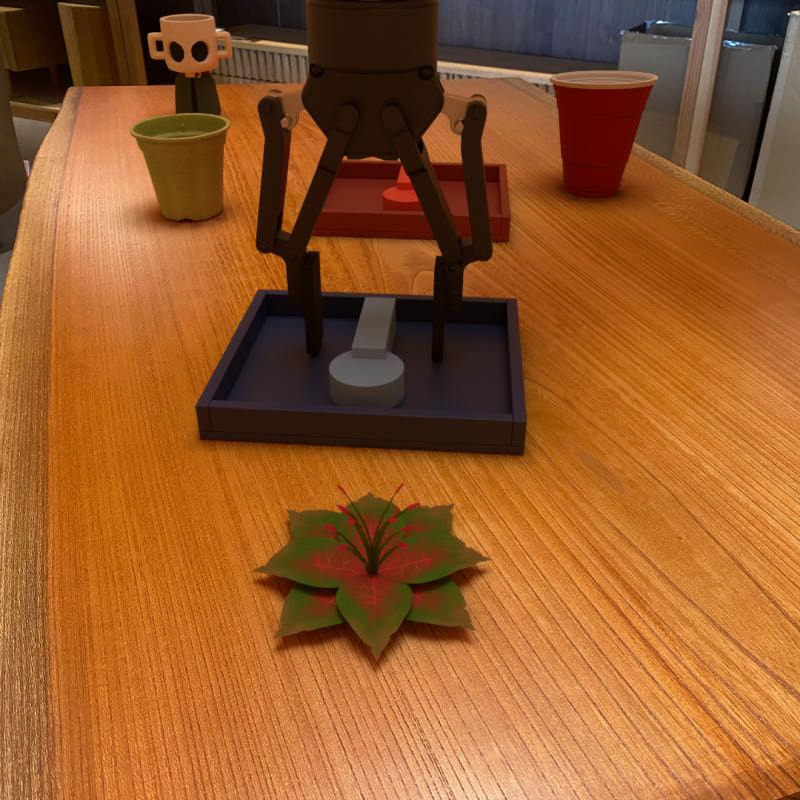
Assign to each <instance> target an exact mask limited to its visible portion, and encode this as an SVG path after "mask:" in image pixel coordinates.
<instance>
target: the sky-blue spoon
mask: <svg viewBox="0 0 800 800" xmlns="http://www.w3.org/2000/svg"><path fill="white" fill-rule="evenodd" d="M395 334H396V299H395V298H376V297H365V301H364V304H363V308H362V311H361V315H360V319H359V322H358V326H357V329H356V333H355V337H354V340H353V344H352V347H351V351H349V352H346V353H343V354H341V355H339V356H337V357H336V358H335V359H333V360H332V362H331V363H330V366H329V380H330V396H331V399H332V401H333V402H334V403H335V404H336V405H337V406H354V407H375V408H392V407H394V406H396V405H397V404H398V403H399V402H400V401H401V400H402V398H403V396H404V364H403V362H402V360H401V359H400V358H399V357H397V356H396V355H394V354H392V349H393V344H394V339H395Z"/></svg>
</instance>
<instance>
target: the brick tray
mask: <svg viewBox="0 0 800 800" xmlns="http://www.w3.org/2000/svg"><path fill="white" fill-rule="evenodd" d="M430 162H431V164H432V166H433V169H434V171H435V174H436V176H437V179H438V181H439V184H440V186H441V189H442V191H443V193H444V196H445V198H446V201H447V203H448V206H449V208H450V211H451V213H452V216H453V218H454V220H455V223H456V225H457V228H458V230H459V233H460V235H461V238H462V239H465V238H468V237H471V236H472V235H471V227H470V220H469V212H468V204H467V196H466V188H465V181H464V173H463V165H462V162H445V161H444V162H443V161H442V162H440V161H430ZM401 166H402V164H401V161H400V160H398V161H385V160H367V159H366V160H364V159H361V160H347V159H343V160H342V162H341V165H340V167H339V170H338V172H337V175H336V177H335V180H334V182H333V185H332V187H331V189H330V192H329V194H328V197H327V199H326V202H325V204H324V207H323V209H322V212H321V214H320V216H319V219H318V221H317V224H316V226H315V229H314V231H313V234H312V236H327V237H355V238H356V237H357V238H359V237H360V238H361V237H362V238H387V239H388V238H391V239H392V238H393V239H395V238H396V239H424V240H427V239H428V240H435V237H434V235H433V233H432V230H431V228H430V226H429V223H428V221H427V219H426V216H425V214H424V212H417V211H383V192H384V191H385V190H387V189H389V188H392V187H397V180H398V176H399V173H400V169H401ZM507 168H508V167H507V164H506V163H485V162H484V169H485V178H486V186H487V195H488V204H489V212H490V221H491V230H492V240H493V242H509V241H510V230H511V218H512V217H511V205H510V194H509V193H510V192H509V180H508V179H509V178H508V169H507Z"/></svg>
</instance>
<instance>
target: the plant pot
mask: <svg viewBox="0 0 800 800" xmlns="http://www.w3.org/2000/svg"><path fill="white" fill-rule="evenodd" d="M230 128H231V122H230V120H229V119H228V118H226V117H223V116H221V115H220V116H216V115H211V114H200V113H184V114H176V113H175V114H164V115H157V116H154V117H148V118H145V119H142V120H139V121H137V122H135V123H133V124H132V125H131V126H130V127H129V129H128V130H129V134H130V135H131V137H133V138H134V139H135V140H136V143H137V146H138V149H139V150H140V151H141V152H142V155H143V158H144V161H145V164H146V167H147V170H148V173H149V177H150V180H151V184H152V186H153V189H154V193H155V196H156V199H157V203H158V205H159V209H160V212H161V215H162V216H163V217H164V218H166V219H168V220H172V221H174V222H175V221H176V222H177V221H179V222H180V221H182V220H184V219H188V220H192V221H194V222H195V221H203V220H205V219H206V220H207V219H210V218H212V217H215V216H218V214H220V213H221V212H222V209H223V207H224V167H225V166H224V165H225V163H224V161H225V159H224V158H225V157H224V156H225V144H226V142H227V133H228V131H229V130H230Z"/></svg>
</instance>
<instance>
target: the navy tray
mask: <svg viewBox="0 0 800 800" xmlns="http://www.w3.org/2000/svg"><path fill="white" fill-rule="evenodd" d="M321 294H322V314H323V334H324V336H323V339H322V342H321V345H320V348H319V351H318V354H307V352H306V336H305V319H304V306H301V305H291V303H290V301H289V299H288V289H268V288H267V289H265V288H258V289H257V290H256V292H255V295H254V296H253V298H252V300H251V302H250V303H249V304H248V307H247V309H246V311H245V313H244V314H243V316H242V318H241V320H240V322H239V324H238V326H237V328H236V329H235V331H234V333H233V335H232V337H231V339H230V340H229V343H228V344H227V346H226V348H225V350H224V352H223V354H222V356H221V358H220V359H219V361H218V363H217V364H216V367H215V369H214V370H213V372H212V374H211V376H210V378H209V379H208V381H207V383H206V385H205V387H204V389H203V390H202V393H201V395H200V396H199V398H198V400H197V402H196V404H195V405H194V408H195V414H196V420H197V421H196V422H197V428H198V435H199V439H200V440H212V441H213V440H215V441H216V440H217V441H234V442H235V441H236V442H254V443H256V442H257V443H274V444H275V443H277V444H293V445H294V444H297V445H316V446H317V445H319V446H335V447H355V448H356V447H357V448H375V449H376V448H378V449H397V450H419V451H436V452H438V451H439V452H457V453H458V452H459V453H475V454H476V453H478V454H499V455H500V454H501V455H521V456H523V455H524V454H525V446H526V436H527V425H528V417H527V406H526V405H527V404H526V393H525V380H524V369H523V368H524V367H523V356H522V343H521V330H520V317H519V305H518V299H517V298H516V297H515V298H514V297H513V298H512V297H507V298H506V297H485V296H482V297H481V296H462V306H461V308H460V310H459V312H451V311H445V328H444V348H443V359H442V360H434V359H432V326H433V294H432V295H431V294H405V293H404V294H403V293H402V294H401V293H378V292H377V293H375V292H350V291H349V292H348V291H324V290H323V291H322V290H321ZM365 297H376V298H395V299H396V334H395V339H394V344H393V349H392V354H394V355H396V356H397V357H399V358H400V359H401V360H402V362H403V364H404V396H403V398H402V400H401V401H400V402H399V403H398V404H397V405H396V406H394V407H392V408H375V407H354V406H337V405H336V404H335V403H334V402H333V401H332V399H331V396H330V380H329V366H330V363H331V362H332V360H333V359H335V358H336V357H337V356H339V355H341V354H343V353H346V352H349V351H351V347H352V344H353V340H354V337H355V333H356V329H357V326H358V322H359V319H360V315H361V311H362V308H363V304H364V301H365Z"/></svg>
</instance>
